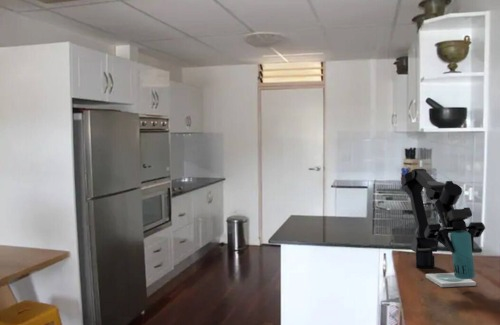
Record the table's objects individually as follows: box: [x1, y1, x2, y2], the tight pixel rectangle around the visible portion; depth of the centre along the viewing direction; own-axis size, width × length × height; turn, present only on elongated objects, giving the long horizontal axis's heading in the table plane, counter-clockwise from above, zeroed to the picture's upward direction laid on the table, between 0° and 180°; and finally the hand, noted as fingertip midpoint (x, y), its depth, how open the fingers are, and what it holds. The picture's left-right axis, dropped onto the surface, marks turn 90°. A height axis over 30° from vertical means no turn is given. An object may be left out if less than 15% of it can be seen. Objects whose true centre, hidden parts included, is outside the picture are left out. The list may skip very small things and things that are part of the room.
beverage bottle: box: [449, 220, 476, 280], centre depth 141 cm, size 6×7×20 cm
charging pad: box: [425, 272, 477, 288], centre depth 151 cm, size 12×12×1 cm
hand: (463, 252), depth 140 cm, fingers closed on beverage bottle, 6 cm apart
